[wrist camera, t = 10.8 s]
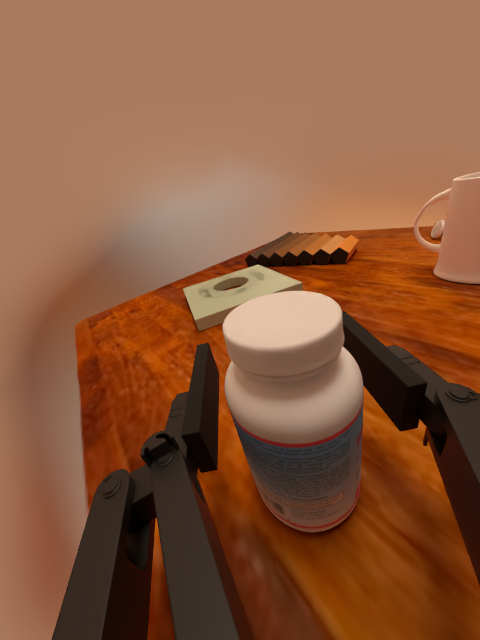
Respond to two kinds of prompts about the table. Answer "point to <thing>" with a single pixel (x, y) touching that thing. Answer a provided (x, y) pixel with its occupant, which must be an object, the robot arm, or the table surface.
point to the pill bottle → (296, 406)
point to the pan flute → (304, 250)
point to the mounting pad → (234, 293)
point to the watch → (438, 229)
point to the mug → (458, 231)
